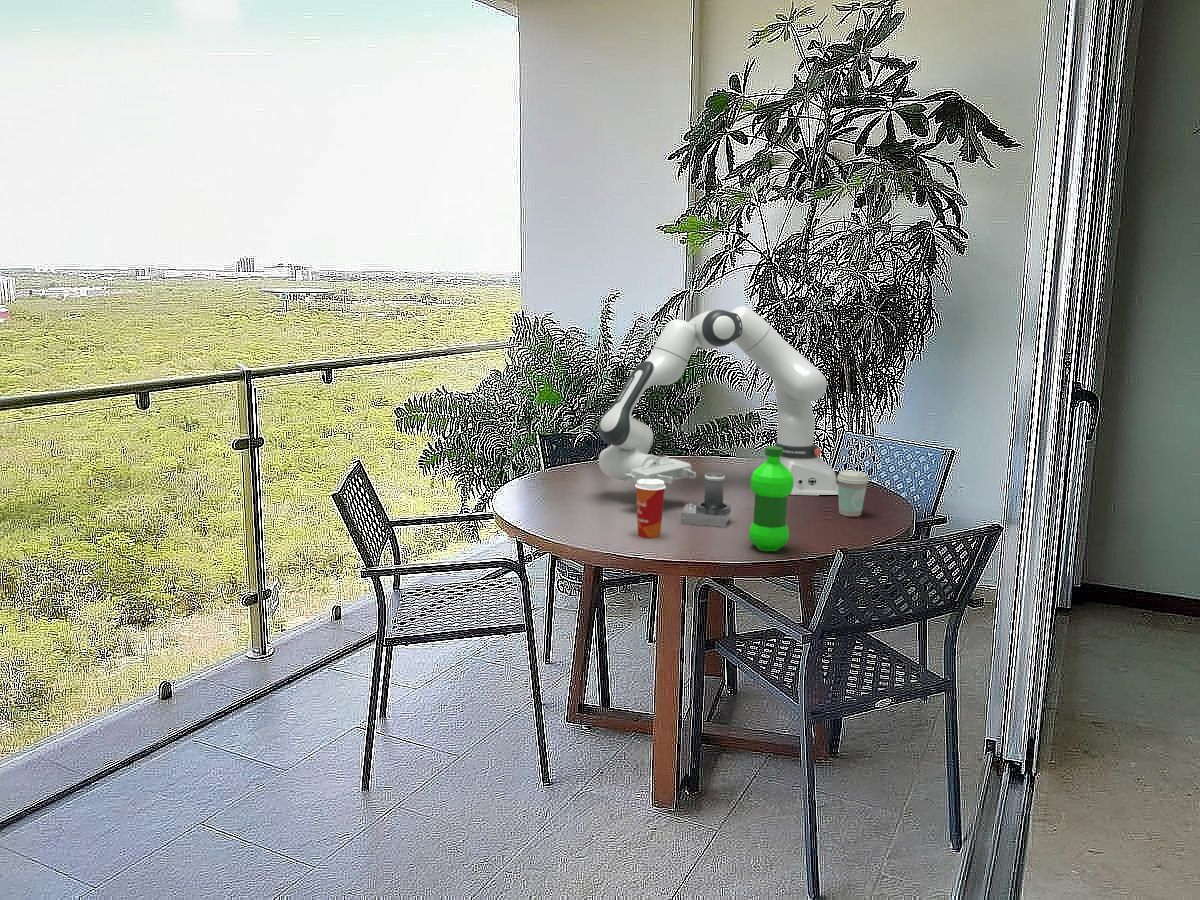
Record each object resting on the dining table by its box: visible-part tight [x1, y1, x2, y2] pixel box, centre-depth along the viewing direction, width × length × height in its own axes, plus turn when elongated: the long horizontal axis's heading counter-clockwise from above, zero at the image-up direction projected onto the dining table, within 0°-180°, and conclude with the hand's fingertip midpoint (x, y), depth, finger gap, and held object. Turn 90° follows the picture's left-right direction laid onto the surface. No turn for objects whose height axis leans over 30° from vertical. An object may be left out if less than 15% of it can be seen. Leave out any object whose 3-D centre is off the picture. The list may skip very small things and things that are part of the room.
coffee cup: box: [836, 470, 870, 516], centre depth 258 cm, size 9×8×12 cm
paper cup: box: [635, 479, 667, 539], centre depth 234 cm, size 8×8×14 cm
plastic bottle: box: [748, 445, 794, 552], centre depth 224 cm, size 10×10×25 cm
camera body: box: [680, 501, 732, 528], centre depth 249 cm, size 12×9×4 cm
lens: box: [703, 471, 726, 509], centre depth 248 cm, size 5×5×10 cm
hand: (683, 478), depth 254 cm, fingers open, 8 cm apart
